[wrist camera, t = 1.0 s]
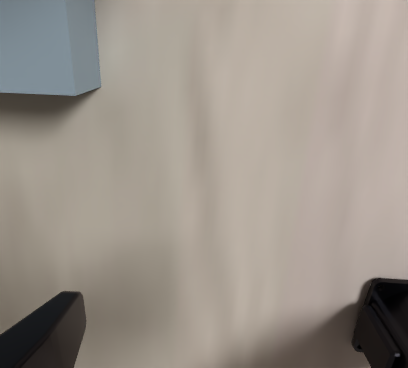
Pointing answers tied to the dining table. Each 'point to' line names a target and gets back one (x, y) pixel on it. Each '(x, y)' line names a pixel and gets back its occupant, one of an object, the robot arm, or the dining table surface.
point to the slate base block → (48, 47)
